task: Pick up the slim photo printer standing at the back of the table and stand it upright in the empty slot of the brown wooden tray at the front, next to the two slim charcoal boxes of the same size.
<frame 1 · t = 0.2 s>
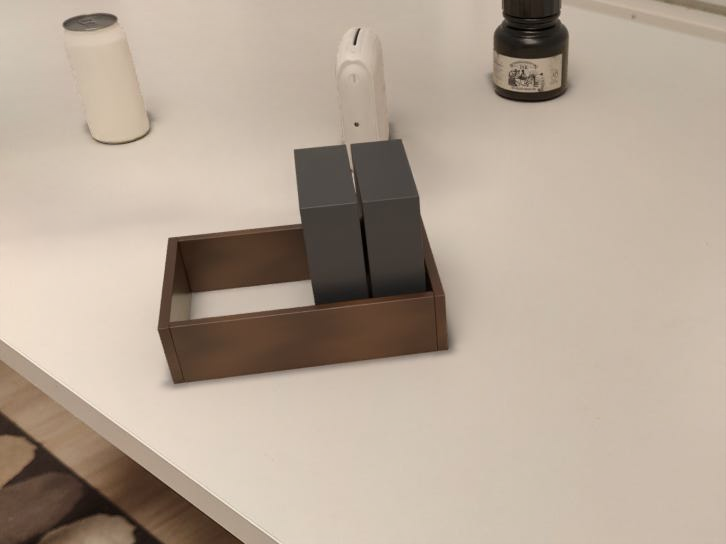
charcoal box 2: (396, 309, 77), resting on brown wooden tray
charcoal box 1: (343, 315, 77), resting on brown wooden tray
can: (122, 135, 107), on the table
ink bottle: (530, 90, 115), on the table
photo printer: (369, 155, 102), on the table
brown wooden tray: (310, 330, 77), on the table
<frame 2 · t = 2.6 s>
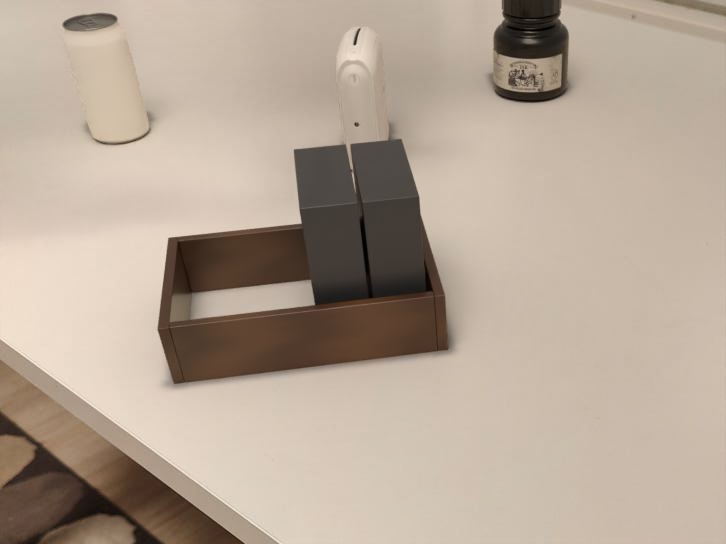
nothing on the table moved.
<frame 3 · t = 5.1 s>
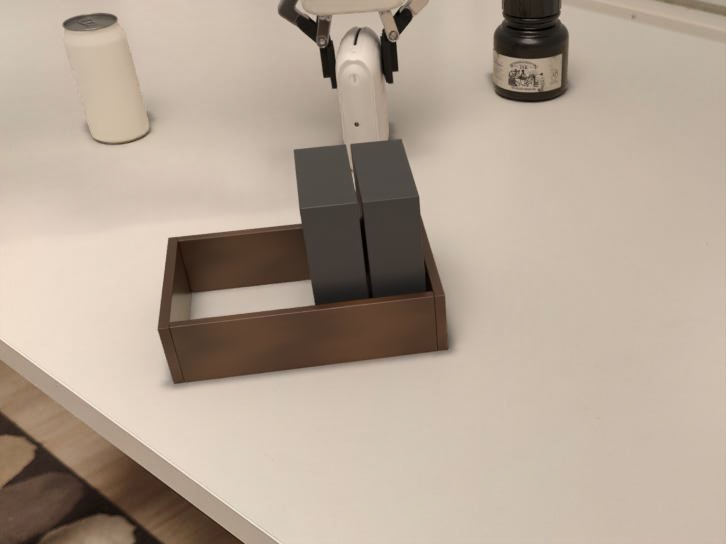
hand: (361, 79, 97), 8 cm above the table, tool pointing down, fingers closed on photo printer, 4 cm apart
photo printer: (369, 155, 102), on the table, touching gripper
everything else where it was.
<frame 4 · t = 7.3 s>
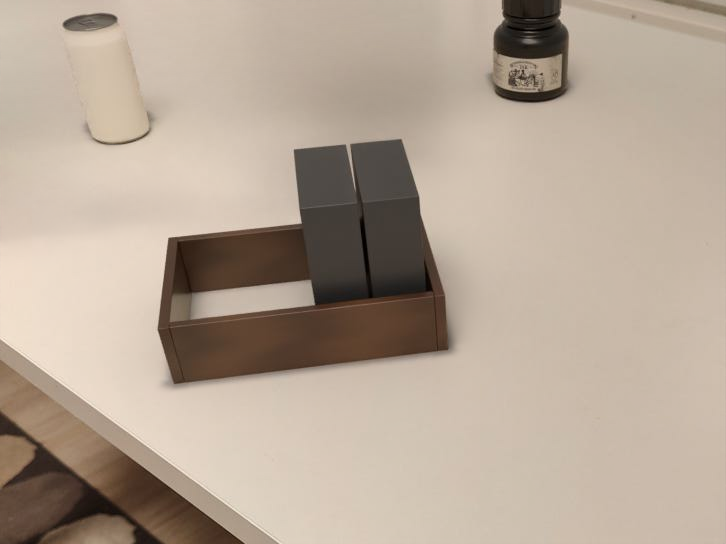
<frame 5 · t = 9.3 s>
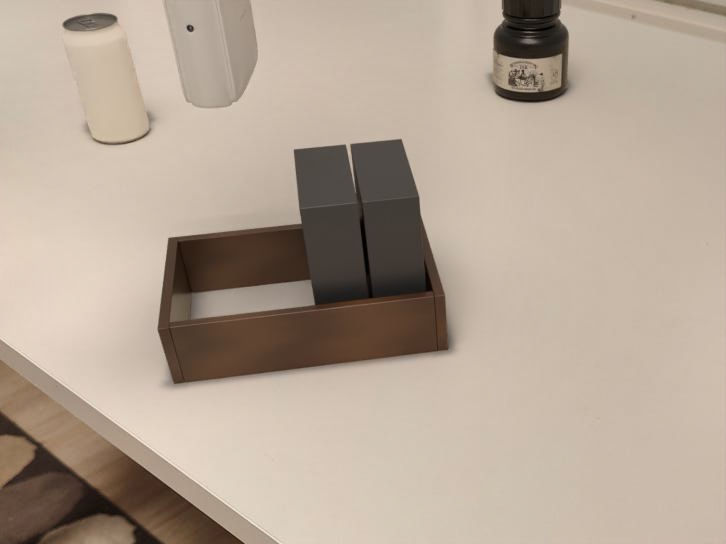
photo printer: (225, 85, 68), point 18 cm above the table, touching gripper
everything else where it was.
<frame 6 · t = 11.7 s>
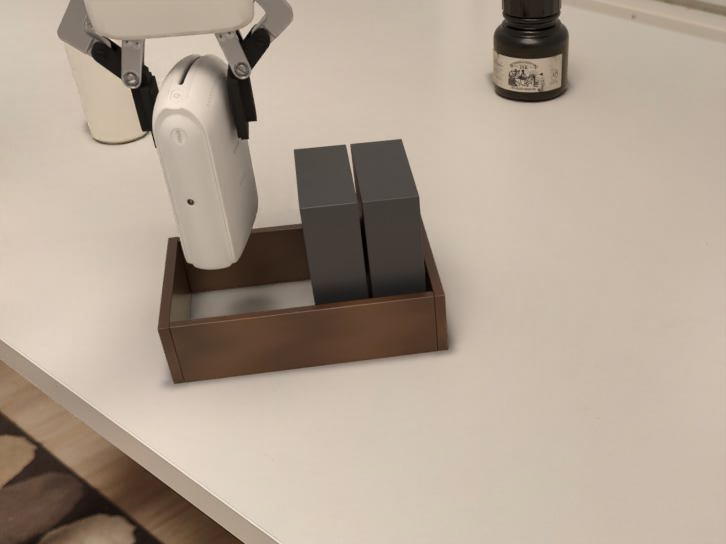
hand: (202, 133, 65), 17 cm above the table, tool pointing down, fingers closed on photo printer, 4 cm apart
photo printer: (226, 238, 70), point 9 cm above the table, touching gripper
everything else where it was.
when the fingers open (9 cm above the table, at t = 14.0 s): photo printer stays where it is, resting on brown wooden tray.
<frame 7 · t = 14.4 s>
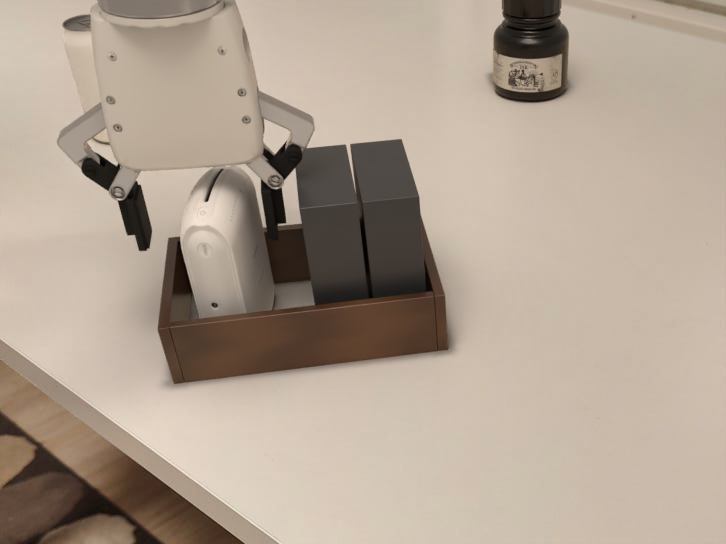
hand: (210, 236, 70), 9 cm above the table, tool pointing down, fingers open, 8 cm apart
photo printer: (245, 329, 76), point 1 cm above the table, touching brown wooden tray
everything else where it was.
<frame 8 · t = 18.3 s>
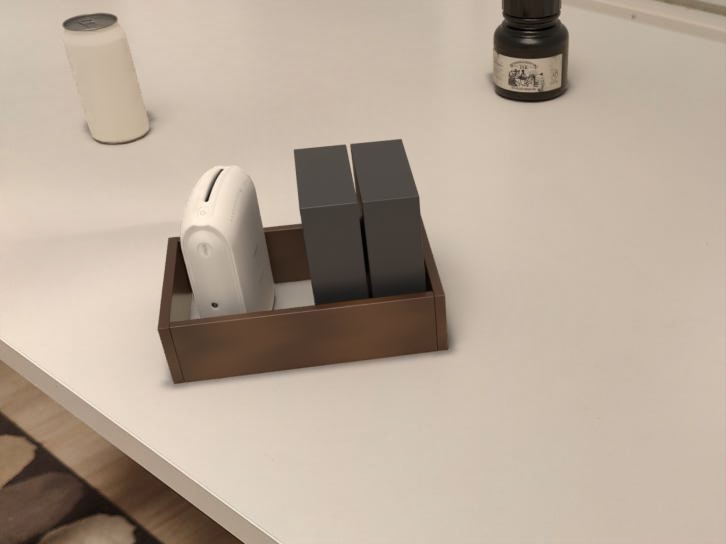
nothing on the table moved.
at the end: photo printer inside the target area in the brown wooden tray (0.1 cm from its centre), point 0.8 cm above the brown wooden tray's base; photo printer tilted 0° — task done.
